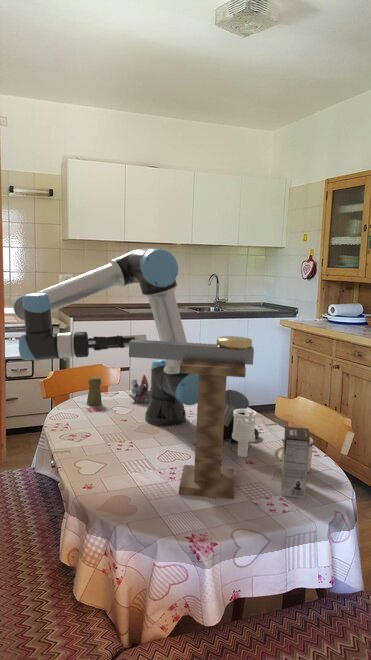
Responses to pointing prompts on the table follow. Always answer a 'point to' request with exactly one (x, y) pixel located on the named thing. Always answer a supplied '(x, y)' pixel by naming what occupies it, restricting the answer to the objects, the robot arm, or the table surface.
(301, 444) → the coffee box
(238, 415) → the strainer
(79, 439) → the table surface
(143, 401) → the pink and grey figurine
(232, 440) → the milk frother
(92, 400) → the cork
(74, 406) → the table surface
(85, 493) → the table surface
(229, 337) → the dark grey bar
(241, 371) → the walnut stand
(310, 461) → the teacup with lid
